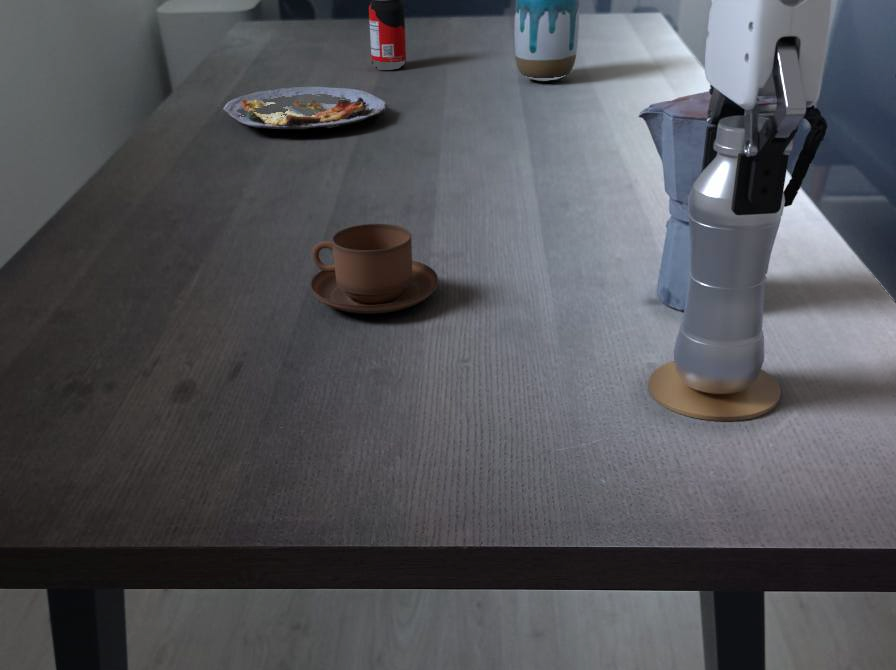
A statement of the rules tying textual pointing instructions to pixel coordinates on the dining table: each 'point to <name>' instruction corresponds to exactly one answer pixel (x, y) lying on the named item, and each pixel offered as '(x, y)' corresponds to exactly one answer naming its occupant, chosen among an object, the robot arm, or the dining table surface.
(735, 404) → the coaster
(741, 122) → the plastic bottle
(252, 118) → the food plate
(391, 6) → the beverage can
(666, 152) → the moka pot
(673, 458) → the dining table surface
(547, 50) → the vase
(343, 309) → the cup and saucer
